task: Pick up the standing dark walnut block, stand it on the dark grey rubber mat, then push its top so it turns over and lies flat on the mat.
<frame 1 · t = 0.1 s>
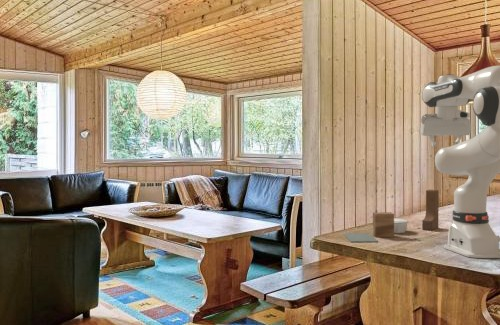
hand: (444, 146, 193), 39 cm above the table, tool pointing down, fingers open, 8 cm apart
rubber mat: (360, 238, 192), on the table
walnut block: (383, 236, 196), on the table
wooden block: (430, 229, 210), on the table
ramekin: (394, 232, 206), on the table
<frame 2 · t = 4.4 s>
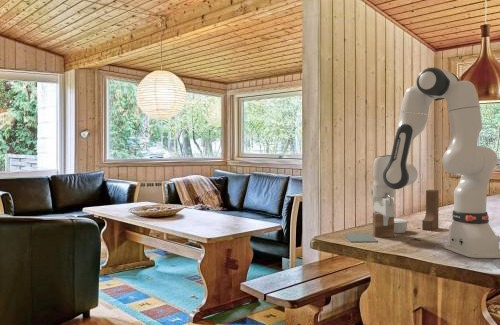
hand: (383, 224, 196), 5 cm above the table, tool pointing down, fingers closed on walnut block, 4 cm apart
walnut block: (383, 235, 196), on the table, touching gripper
everything else where it was.
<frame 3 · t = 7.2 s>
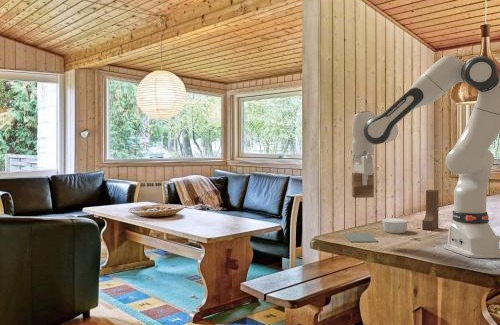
hand: (362, 184, 186), 23 cm above the table, tool pointing down, fingers closed on walnut block, 4 cm apart
walnut block: (362, 196, 186), point 18 cm above the table, touching gripper
everything else where it was.
when the fingers open (6 cm above the table, at t = 10.5 s): walnut block stays where it is, resting on rubber mat.
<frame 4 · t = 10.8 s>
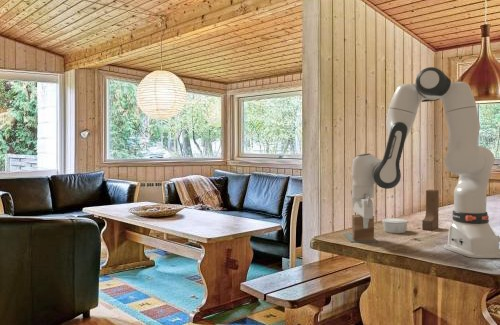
hand: (362, 226, 187), 6 cm above the table, tool pointing down, fingers open, 7 cm apart
walnut block: (363, 239, 187), resting on rubber mat
everything else where it was.
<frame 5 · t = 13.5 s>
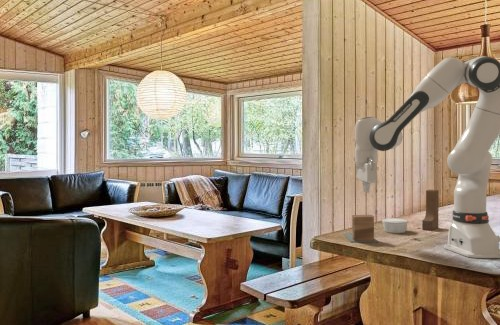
hand: (366, 192, 181), 21 cm above the table, tool pointing down, fingers closed
nothing on the table moved.
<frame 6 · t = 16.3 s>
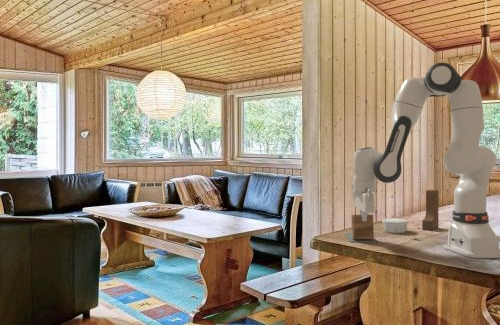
hand: (363, 220, 184), 9 cm above the table, tool pointing down, fingers closed
walnut block: (363, 238, 187), point 1 cm above the table, tilted 9°, touching gripper, rubber mat
everything else where it was.
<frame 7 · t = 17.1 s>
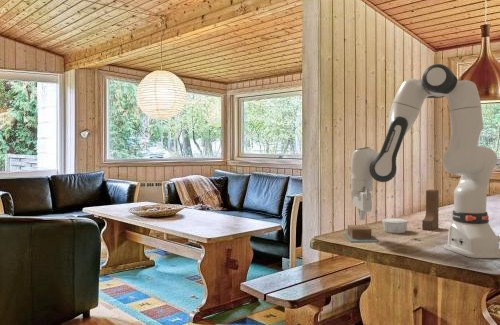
hand: (361, 219, 188), 9 cm above the table, tool pointing down, fingers closed
walnut block: (361, 233, 189), point 2 cm above the table, tilted 90°, touching rubber mat
everything else where it was.
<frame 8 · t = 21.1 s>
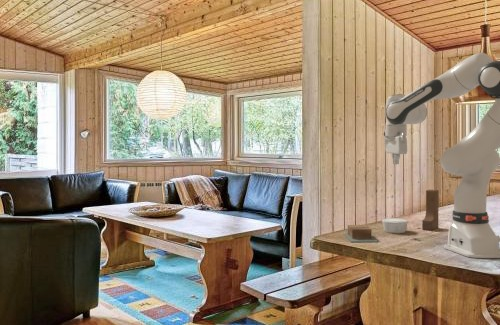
hand: (395, 164, 197), 31 cm above the table, tool pointing down, fingers closed
nothing on the table moved.
at the end: walnut block tilted 90°; walnut block 3.0 cm from the rubber mat (horizontally); the gripper is holding nothing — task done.
